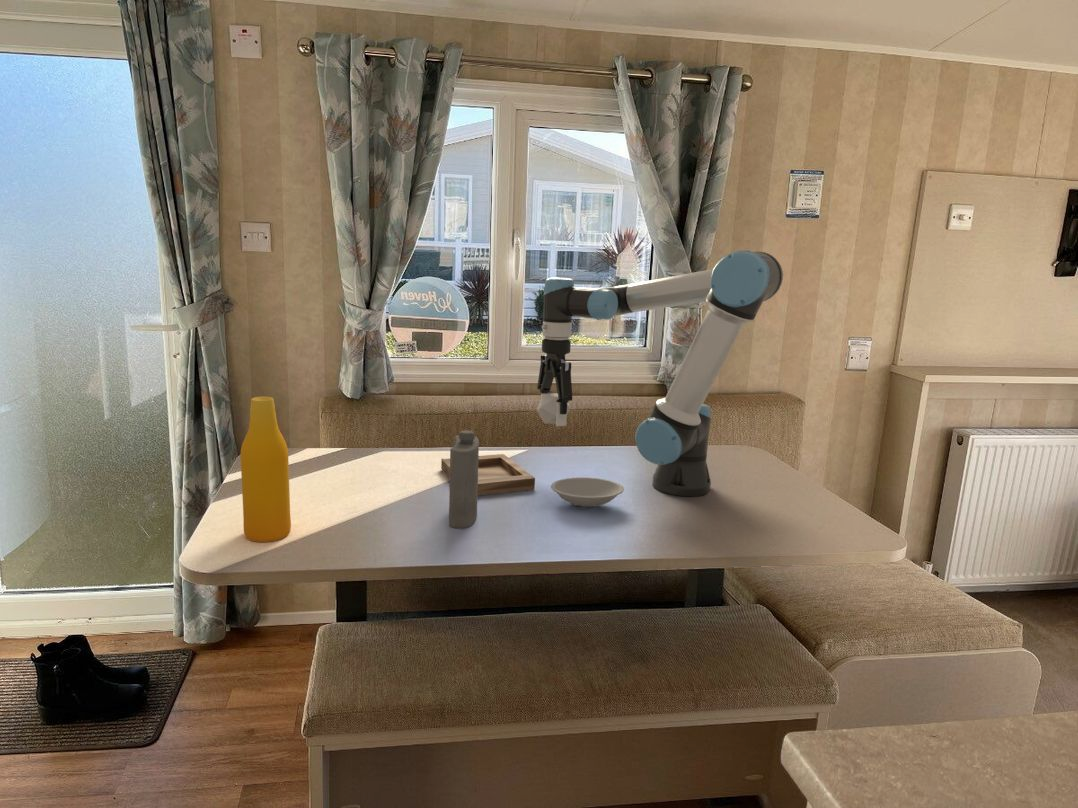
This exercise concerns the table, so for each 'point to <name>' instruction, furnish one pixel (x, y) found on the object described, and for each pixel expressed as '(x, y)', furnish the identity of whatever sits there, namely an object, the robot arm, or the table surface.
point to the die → (549, 408)
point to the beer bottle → (265, 475)
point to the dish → (587, 491)
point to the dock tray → (498, 475)
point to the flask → (463, 480)
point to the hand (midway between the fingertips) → (553, 421)
